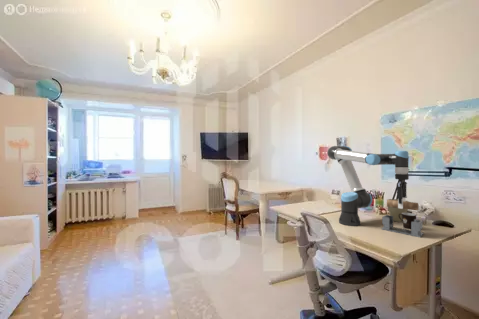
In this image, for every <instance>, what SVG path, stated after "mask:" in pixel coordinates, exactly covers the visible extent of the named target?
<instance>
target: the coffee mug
mask: <svg viewBox="0 0 479 319" xmlns="http://www.w3.org/2000/svg"><path fill="white" fill-rule="evenodd" d="M401 215H402V219H401V218H400V214H399V218H400V219H401V220H402V221H403V222H402V227H403V229H406V230H411V222H414V220H417V214H416V213H412V212H407V213H402V214H401Z"/></svg>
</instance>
